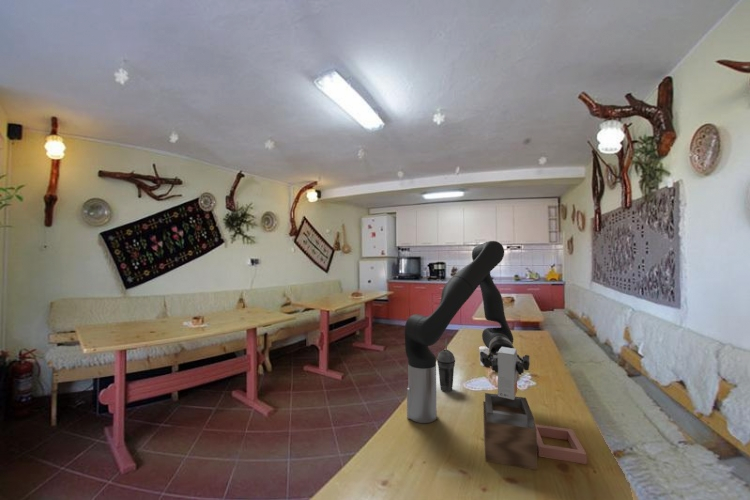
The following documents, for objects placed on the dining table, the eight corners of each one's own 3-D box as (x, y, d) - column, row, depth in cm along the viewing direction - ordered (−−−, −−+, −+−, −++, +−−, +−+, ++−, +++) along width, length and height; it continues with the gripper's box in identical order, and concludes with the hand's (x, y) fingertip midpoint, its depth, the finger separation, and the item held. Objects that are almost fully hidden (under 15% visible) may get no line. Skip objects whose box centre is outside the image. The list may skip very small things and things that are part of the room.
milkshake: (491, 367, 149) (491, 346, 149) (479, 366, 150) (479, 345, 150) (489, 364, 154) (489, 343, 154) (478, 363, 155) (478, 343, 155)
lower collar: (538, 456, 82) (538, 446, 82) (530, 432, 93) (530, 423, 93) (586, 464, 79) (586, 454, 79) (572, 438, 90) (571, 429, 90)
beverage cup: (435, 391, 122) (434, 340, 123) (438, 384, 129) (438, 336, 129) (454, 394, 119) (453, 342, 120) (456, 387, 126) (456, 337, 127)
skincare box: (514, 400, 81) (514, 354, 81) (497, 396, 83) (496, 352, 83) (517, 391, 86) (517, 348, 86) (501, 388, 88) (500, 346, 89)
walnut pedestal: (485, 460, 80) (485, 411, 81) (483, 435, 92) (483, 392, 92) (537, 470, 77) (536, 418, 77) (528, 442, 88) (527, 397, 88)
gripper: (477, 337, 101) (479, 353, 84) (526, 340, 96) (537, 358, 80) (478, 360, 101) (479, 381, 84) (526, 364, 96) (538, 387, 80)
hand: (508, 369), depth 82 cm, fingers closed on skincare box, 5 cm apart
